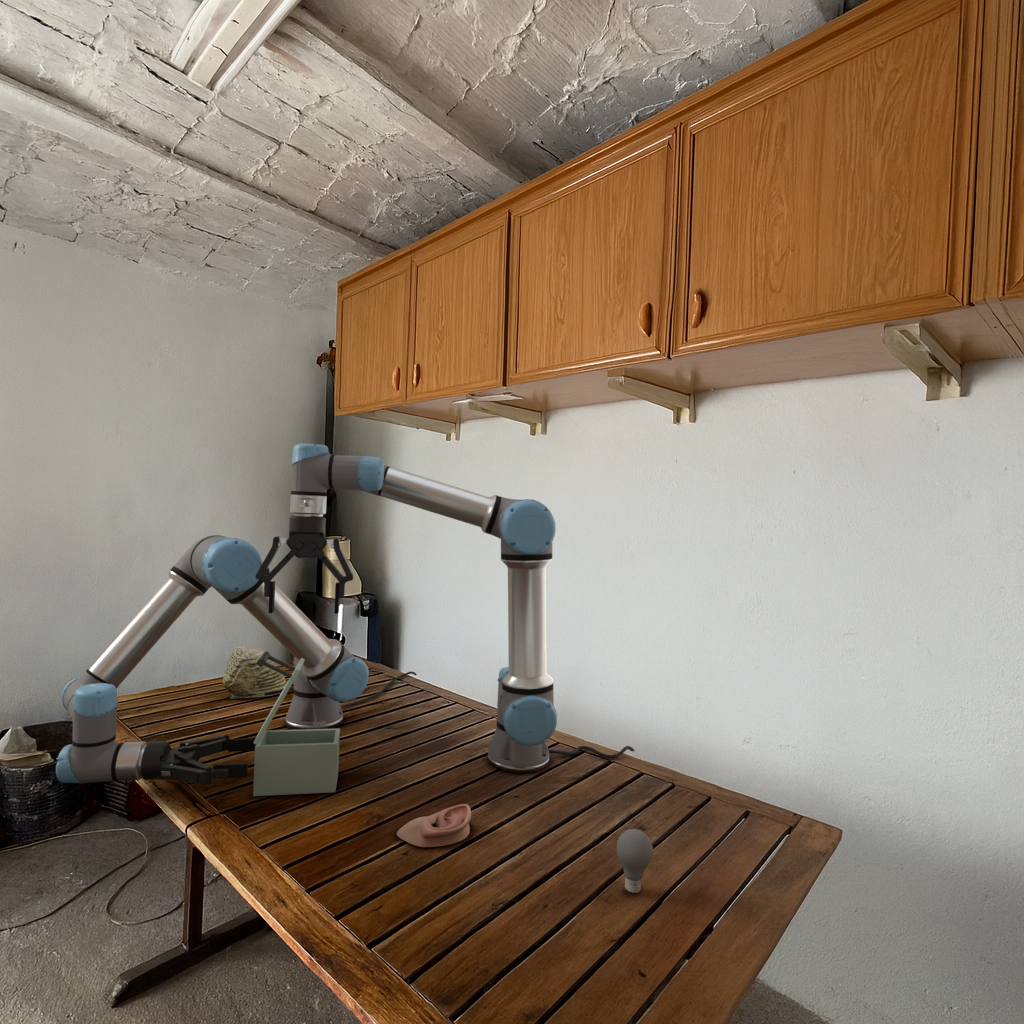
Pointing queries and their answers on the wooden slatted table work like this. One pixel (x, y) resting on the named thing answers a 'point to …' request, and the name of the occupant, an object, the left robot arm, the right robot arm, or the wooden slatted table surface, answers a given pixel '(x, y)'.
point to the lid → (263, 662)
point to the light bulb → (634, 857)
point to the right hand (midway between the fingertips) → (304, 612)
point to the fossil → (251, 675)
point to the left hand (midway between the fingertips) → (253, 756)
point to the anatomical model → (438, 827)
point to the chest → (296, 762)
